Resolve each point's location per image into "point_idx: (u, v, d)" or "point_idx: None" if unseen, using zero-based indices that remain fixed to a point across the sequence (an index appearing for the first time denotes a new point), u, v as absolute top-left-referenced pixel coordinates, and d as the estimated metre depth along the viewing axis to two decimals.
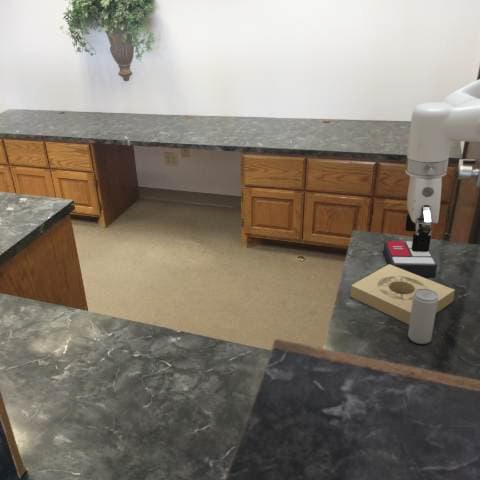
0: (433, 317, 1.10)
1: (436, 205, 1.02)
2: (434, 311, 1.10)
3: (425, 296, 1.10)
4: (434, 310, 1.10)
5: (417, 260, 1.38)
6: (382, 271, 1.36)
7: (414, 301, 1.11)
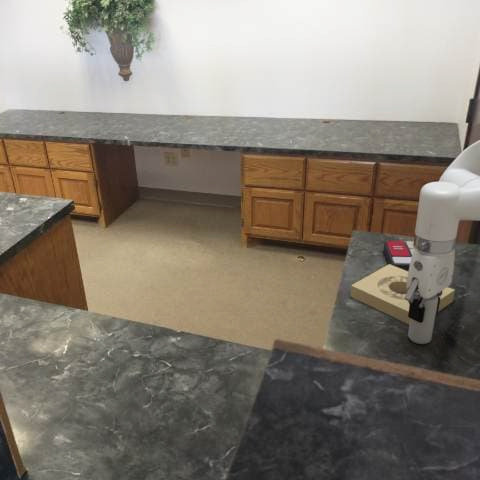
0: (433, 317, 1.10)
1: (424, 281, 1.04)
2: (434, 311, 1.10)
3: None
4: (434, 310, 1.10)
5: None
6: (382, 271, 1.36)
7: None
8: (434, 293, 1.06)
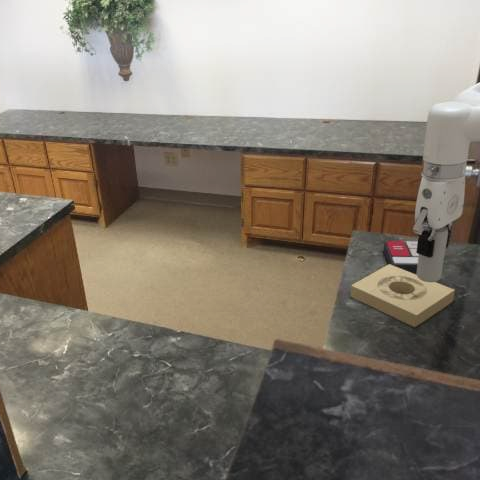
0: (443, 252, 1.05)
1: (433, 209, 0.98)
2: (444, 245, 1.04)
3: None
4: (444, 244, 1.04)
5: (417, 260, 1.38)
6: (382, 271, 1.36)
7: None
8: (444, 223, 1.00)
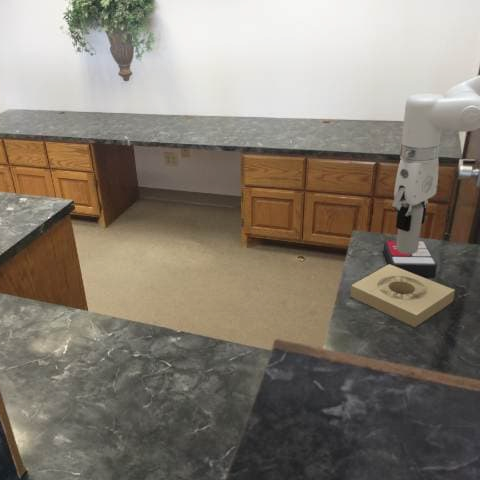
0: (419, 227, 1.18)
1: (410, 187, 1.12)
2: (420, 220, 1.18)
3: (412, 206, 1.18)
4: (420, 219, 1.18)
5: (417, 260, 1.38)
6: (382, 271, 1.36)
7: None
8: (419, 200, 1.14)
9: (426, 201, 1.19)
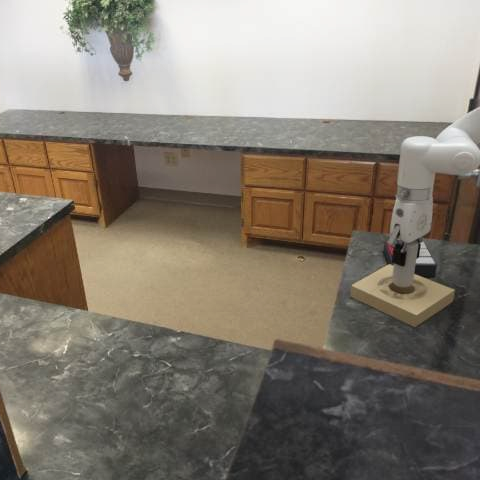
0: (414, 262, 1.23)
1: (405, 226, 1.16)
2: (415, 256, 1.22)
3: None
4: (415, 255, 1.22)
5: (417, 260, 1.38)
6: (382, 271, 1.36)
7: None
8: (414, 238, 1.18)
9: (421, 237, 1.23)
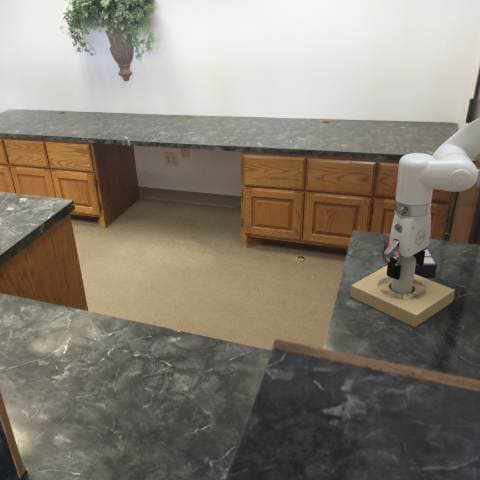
0: (411, 279, 1.25)
1: (404, 241, 1.18)
2: (412, 273, 1.24)
3: (405, 259, 1.24)
4: (412, 272, 1.24)
5: None
6: (382, 271, 1.36)
7: None
8: (413, 253, 1.20)
9: None
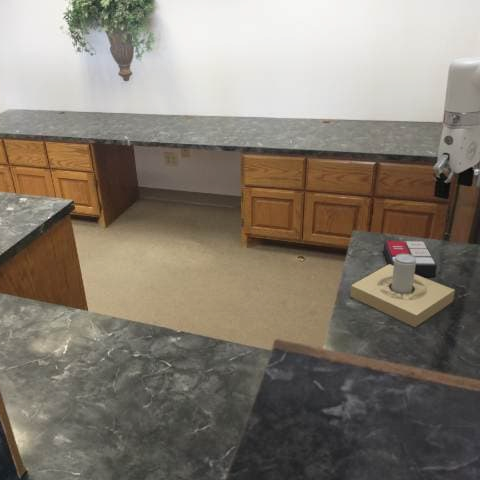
0: (411, 279, 1.25)
1: (455, 154, 1.09)
2: (412, 273, 1.24)
3: (405, 259, 1.24)
4: (412, 272, 1.24)
5: (417, 260, 1.38)
6: (382, 271, 1.36)
7: (395, 264, 1.25)
8: (464, 168, 1.12)
9: None
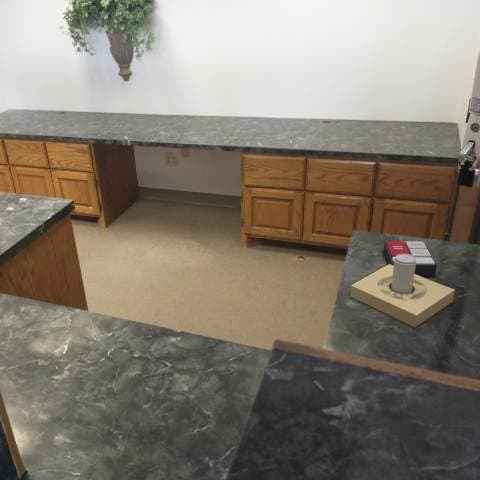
0: (411, 279, 1.25)
1: None
2: (412, 273, 1.24)
3: (405, 259, 1.24)
4: (412, 272, 1.24)
5: (417, 260, 1.38)
6: (382, 271, 1.36)
7: (395, 264, 1.25)
8: None
9: None
